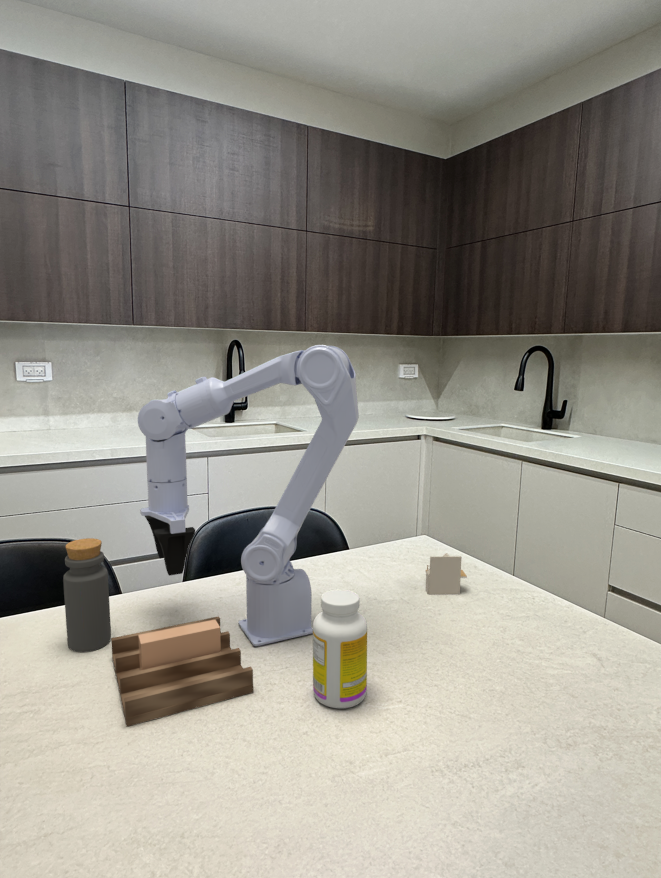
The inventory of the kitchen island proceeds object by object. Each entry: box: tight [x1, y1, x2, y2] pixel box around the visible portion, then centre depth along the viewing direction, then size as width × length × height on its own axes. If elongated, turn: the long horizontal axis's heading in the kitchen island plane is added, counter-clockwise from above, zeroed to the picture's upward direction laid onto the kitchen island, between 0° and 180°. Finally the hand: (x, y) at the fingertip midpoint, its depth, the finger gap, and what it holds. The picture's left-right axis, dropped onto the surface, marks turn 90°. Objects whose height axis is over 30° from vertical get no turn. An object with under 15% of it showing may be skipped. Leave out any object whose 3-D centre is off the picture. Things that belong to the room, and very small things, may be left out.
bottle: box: [62, 537, 112, 653], centre depth 80 cm, size 6×6×15 cm
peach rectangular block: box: [138, 620, 221, 671], centre depth 73 cm, size 10×2×5 cm, turn 116°
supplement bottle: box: [312, 588, 368, 709], centre depth 69 cm, size 7×7×13 cm
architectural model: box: [425, 552, 468, 596], centre depth 100 cm, size 3×7×7 cm, turn 93°
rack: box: [110, 615, 254, 727], centre depth 73 cm, size 15×16×3 cm
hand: (170, 565), depth 86 cm, fingers open, 7 cm apart
